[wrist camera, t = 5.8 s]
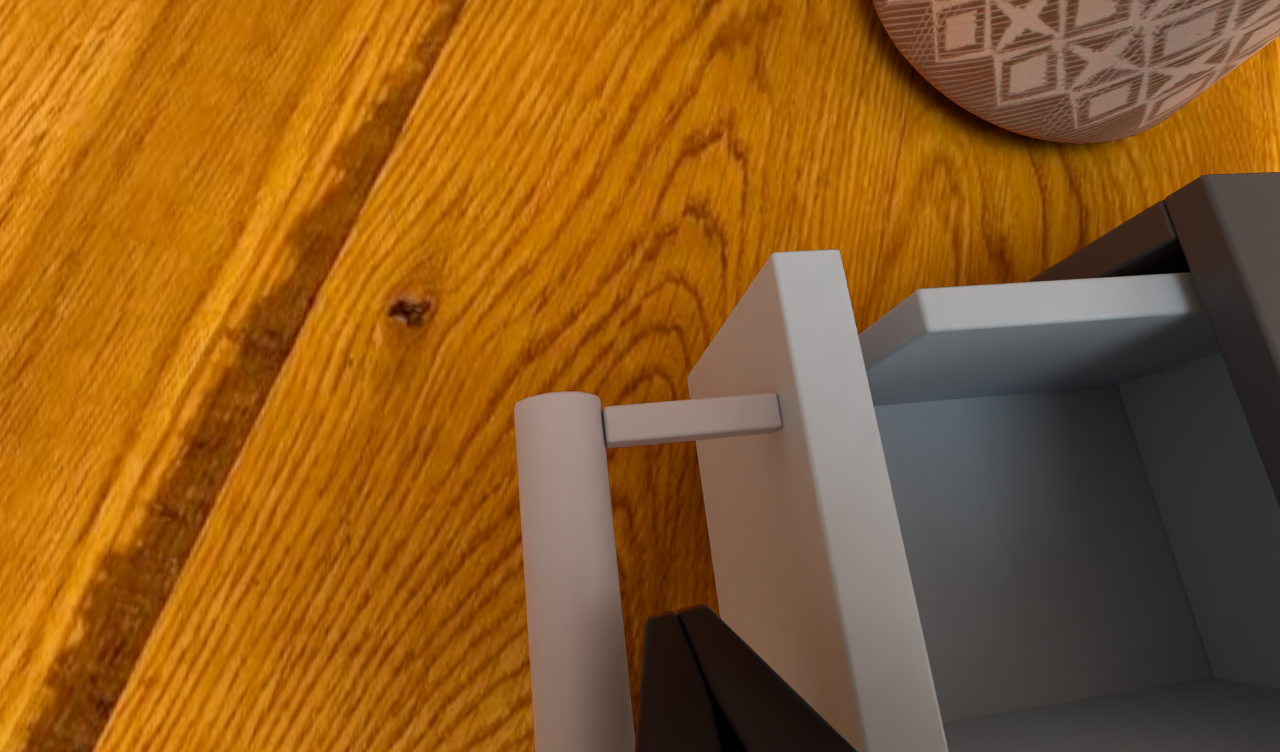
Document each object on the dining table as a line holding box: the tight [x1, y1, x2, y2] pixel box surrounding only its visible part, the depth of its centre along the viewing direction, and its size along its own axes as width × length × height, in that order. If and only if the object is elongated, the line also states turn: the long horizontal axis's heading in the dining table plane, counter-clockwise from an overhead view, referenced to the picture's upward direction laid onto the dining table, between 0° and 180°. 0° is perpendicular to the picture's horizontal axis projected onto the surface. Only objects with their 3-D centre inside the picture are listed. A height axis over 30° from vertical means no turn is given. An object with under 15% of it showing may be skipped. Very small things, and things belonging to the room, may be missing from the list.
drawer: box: [514, 249, 1280, 752], centre depth 13 cm, size 17×10×7 cm, turn 97°
